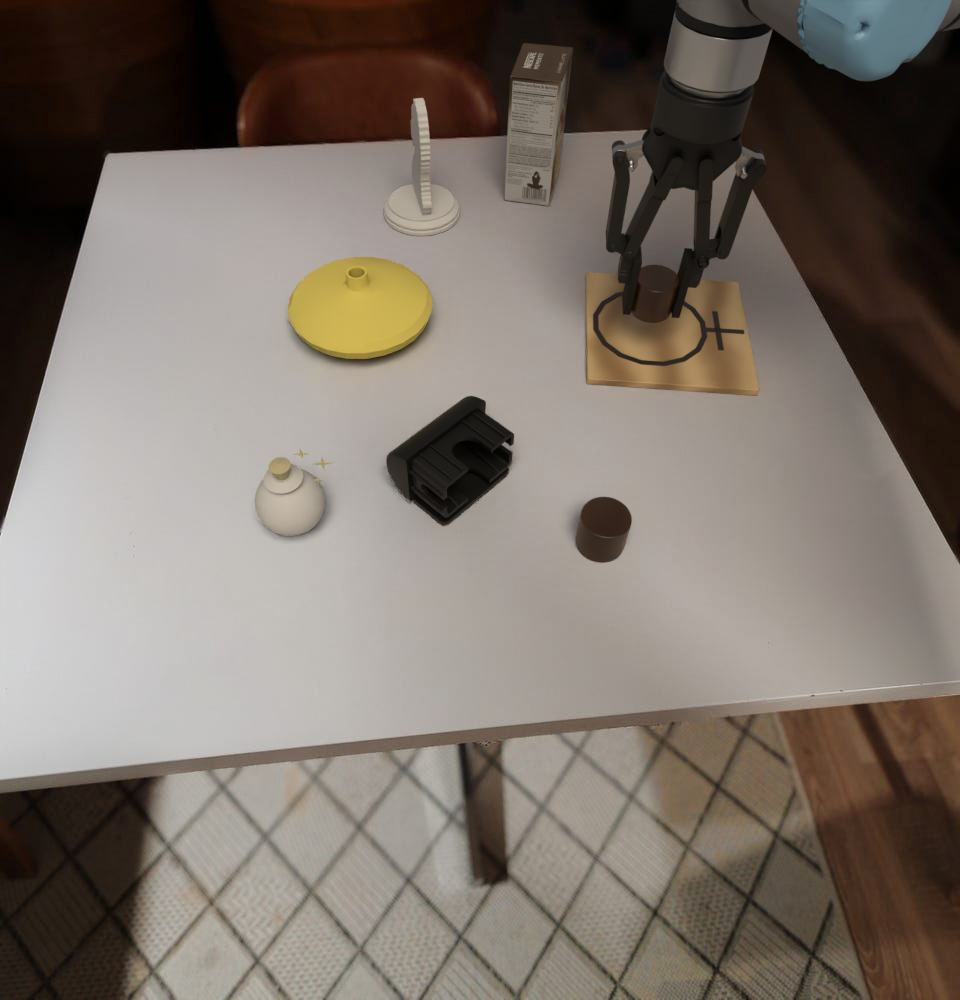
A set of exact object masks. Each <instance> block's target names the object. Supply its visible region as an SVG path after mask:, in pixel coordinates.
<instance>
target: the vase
mask: <svg viewBox="0 0 960 1000" xmlns="http://www.w3.org/2000/svg"><path fill="white" fill-rule="evenodd" d="M286 311H287V315H288V320H289V323H290V325H291V326H292V327H293V328H294V330H295V332H296V333H297V335H298V336H299V337H300V339H301V340H302V341H303V342H305V343H306V344H307V345H308V346H309V347H311V348H312V349H313V350H316V351H318V352H320V353H323V354H325V355H328V356H331V357H336V358H341V359H345V360H356V359H357V360H358V359H359V360H368V359H373V358H378V357H383V356H387V355H389V354H392V353H395V352H397V351H399V350H402V349H404V348H405V347H406V346H408V345H410V344H411V343H412V342H414V341H416V340H417V338H418V337H419V336H420V335H421V333H422V332H423V331H424V330H425V328H426V326H427V324H428V323H429V320H430V316H431V314H432V311H433V296H432V293H431V291H430V288H429V285H427V284H426V282H425V281H424V280H423V279H422V278H421V277H420V275H418V274H417V273H416V272H414V271H413V270H411V268H408V267H407V266H405V265H404V264H401V263H398V262H396V261H394V260H391V259H387V258H380V257H375V256H354V257H347V258H341V259H337V260H334V261H331V262H328V263H325V264H322V265H320V266H319V267H316V268H315V269H313V270H312V271H310V272H309V273H307V275H305V277H304V278H302V279H301V280H300V281H299V282H298V283H297V285H296V287H295V288H294V290H293V291H292V293H291V295H290V296H289V298H288V303H287V309H286Z"/></svg>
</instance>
